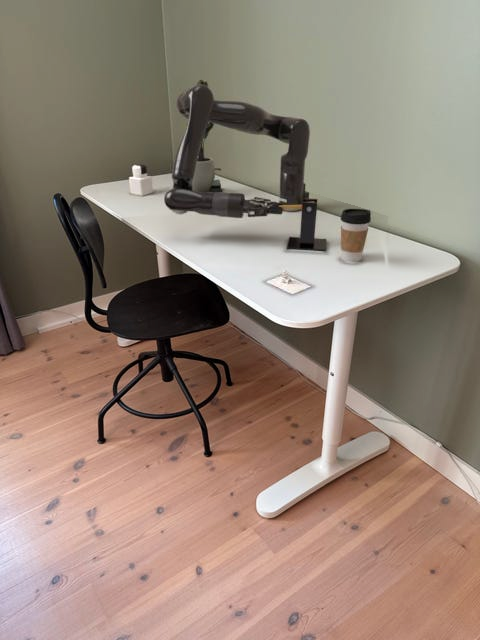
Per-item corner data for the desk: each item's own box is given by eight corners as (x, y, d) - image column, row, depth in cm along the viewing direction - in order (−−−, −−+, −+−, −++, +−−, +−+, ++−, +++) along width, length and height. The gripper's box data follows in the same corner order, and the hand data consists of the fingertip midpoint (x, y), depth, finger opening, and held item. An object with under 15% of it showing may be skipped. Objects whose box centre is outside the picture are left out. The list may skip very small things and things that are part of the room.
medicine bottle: (142, 190, 214) (139, 162, 208) (153, 192, 211) (151, 164, 205) (130, 193, 209) (127, 165, 203) (141, 196, 206) (138, 167, 200)
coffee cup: (359, 267, 136) (366, 216, 129) (331, 262, 140) (336, 212, 133) (369, 258, 143) (376, 209, 135) (342, 253, 147) (347, 204, 139)
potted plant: (178, 190, 214) (171, 78, 192) (220, 188, 217) (217, 78, 194) (180, 203, 195) (172, 81, 173) (225, 201, 198) (223, 80, 176)
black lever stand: (286, 251, 148) (288, 204, 141) (289, 240, 157) (291, 195, 149) (325, 253, 146) (329, 206, 139) (326, 242, 155) (330, 197, 148)
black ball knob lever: (267, 215, 147) (266, 203, 145) (268, 211, 150) (268, 200, 148) (314, 213, 144) (313, 202, 142) (314, 210, 147) (314, 198, 145)
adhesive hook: (286, 279, 130) (286, 268, 128) (293, 282, 128) (293, 271, 126) (278, 282, 128) (278, 271, 126) (285, 285, 126) (285, 274, 125)
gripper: (224, 199, 141) (281, 203, 139) (232, 187, 153) (286, 190, 151) (224, 223, 145) (280, 227, 143) (232, 210, 157) (284, 213, 155)
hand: (282, 208), depth 147 cm, fingers closed on black ball knob lever, 3 cm apart
